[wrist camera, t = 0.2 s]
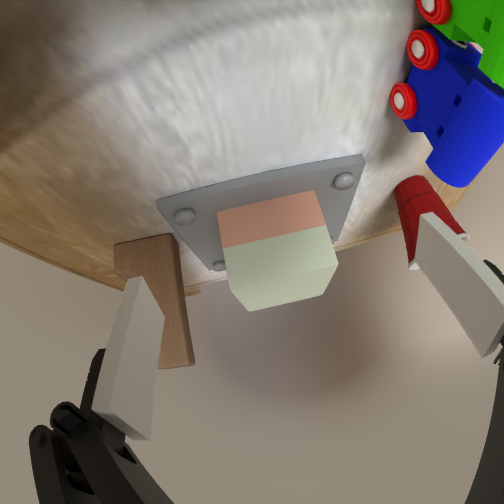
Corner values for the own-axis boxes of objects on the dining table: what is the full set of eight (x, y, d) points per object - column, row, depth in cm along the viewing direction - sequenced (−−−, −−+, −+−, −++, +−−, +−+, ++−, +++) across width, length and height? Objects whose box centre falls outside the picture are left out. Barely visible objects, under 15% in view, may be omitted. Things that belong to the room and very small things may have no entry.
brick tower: (156, 200, 32) (164, 292, 28) (361, 154, 31) (398, 238, 27) (208, 264, 55) (218, 321, 51) (335, 235, 54) (352, 290, 50)
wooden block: (124, 255, 44) (135, 372, 37) (113, 243, 39) (123, 372, 33) (178, 244, 44) (196, 365, 38) (171, 231, 40) (189, 365, 34)
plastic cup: (437, 187, 42) (465, 251, 38) (384, 209, 47) (408, 275, 43) (441, 155, 33) (479, 232, 29) (376, 181, 38) (408, 262, 34)
